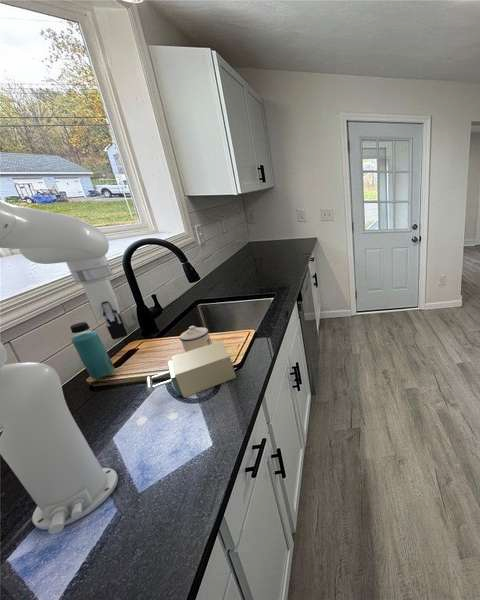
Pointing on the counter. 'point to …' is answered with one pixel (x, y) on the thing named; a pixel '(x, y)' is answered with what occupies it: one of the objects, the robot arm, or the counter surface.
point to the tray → (173, 380)
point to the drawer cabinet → (202, 368)
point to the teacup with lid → (195, 338)
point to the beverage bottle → (91, 351)
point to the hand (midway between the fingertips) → (118, 331)
